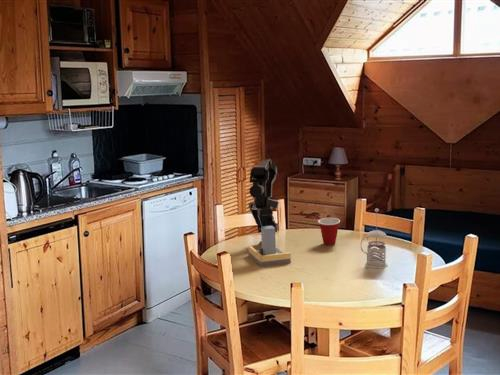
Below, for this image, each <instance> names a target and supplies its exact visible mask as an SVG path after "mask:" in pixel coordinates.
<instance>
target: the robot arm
mask: <svg viewBox="0 0 500 375" xmlns="http://www.w3.org/2000/svg"><path fill="white" fill-rule="evenodd" d="M277 175H278V168H277V164H276V163H274V162H273V161H272V159H271V158H262V159H260V162H259V164H258V165H254V166H253V167H252V168H251V169H250V175H249V183H252V185H251V186H250V188H249V191H248V192H249V194H250V196H251V197H252V198H253V201H251V202H249V203H248V209H249V211H250V213H251V215H252V217H253V220H254V222H255V223H256V225H257V232H258V233H261V227H262V226H273V227H274V228H275V233H276V232H278V228H277V223H276V220H275V217H274V215H273V214H274V210H273V209H272V208H274V209H278V206H279V201H278V200H275V199H274V197H273V184H274V183H275V181H276V180H277ZM259 244H261V245H262V240H261V241H259Z"/></svg>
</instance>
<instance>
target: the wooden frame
mask: <svg viewBox="0 0 500 375" xmlns="http://www.w3.org/2000/svg"><path fill="white" fill-rule="evenodd" d="M248 256H249V257H250V258H251V259H252V260H253V261H254V262H255V261H256V262H257V263H258V264H257V265H258V266H259V267H265V266H266V267H267V266H268V265H269V266H275V265H284V264H291V263H292V261H291V260H292V259H291V257H292V256H291V252H290V251H287V252H283V251H282V250H280V249H279V248H278V247H276V254H271V255H261V254H260V253H259V249H255V248H254V247H253V246H252V245H248ZM256 262H255V263H256ZM269 266H268V267H269Z"/></svg>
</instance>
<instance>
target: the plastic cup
mask: <svg viewBox="0 0 500 375" xmlns="http://www.w3.org/2000/svg"><path fill="white" fill-rule="evenodd" d="M340 222H341V220H340V219H339V218H336V217H324V218H319V219H318V220H317V223H318V224H319V228H320V233H321V238H322V243H323V245H325V246H334V245H336V242H337V237H338V229H339V225H340Z"/></svg>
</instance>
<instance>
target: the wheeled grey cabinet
mask: <svg viewBox="0 0 500 375" xmlns="http://www.w3.org/2000/svg"><path fill="white" fill-rule="evenodd" d="M260 233H261V234H260V235H261V241H262V244H261V247H260V248H258V250H259V253H260V254H261V255H271V254H276V248H277V247H276V241H277V239H276V232H275V228H274V227H273V226H262V227H261V232H260Z"/></svg>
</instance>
